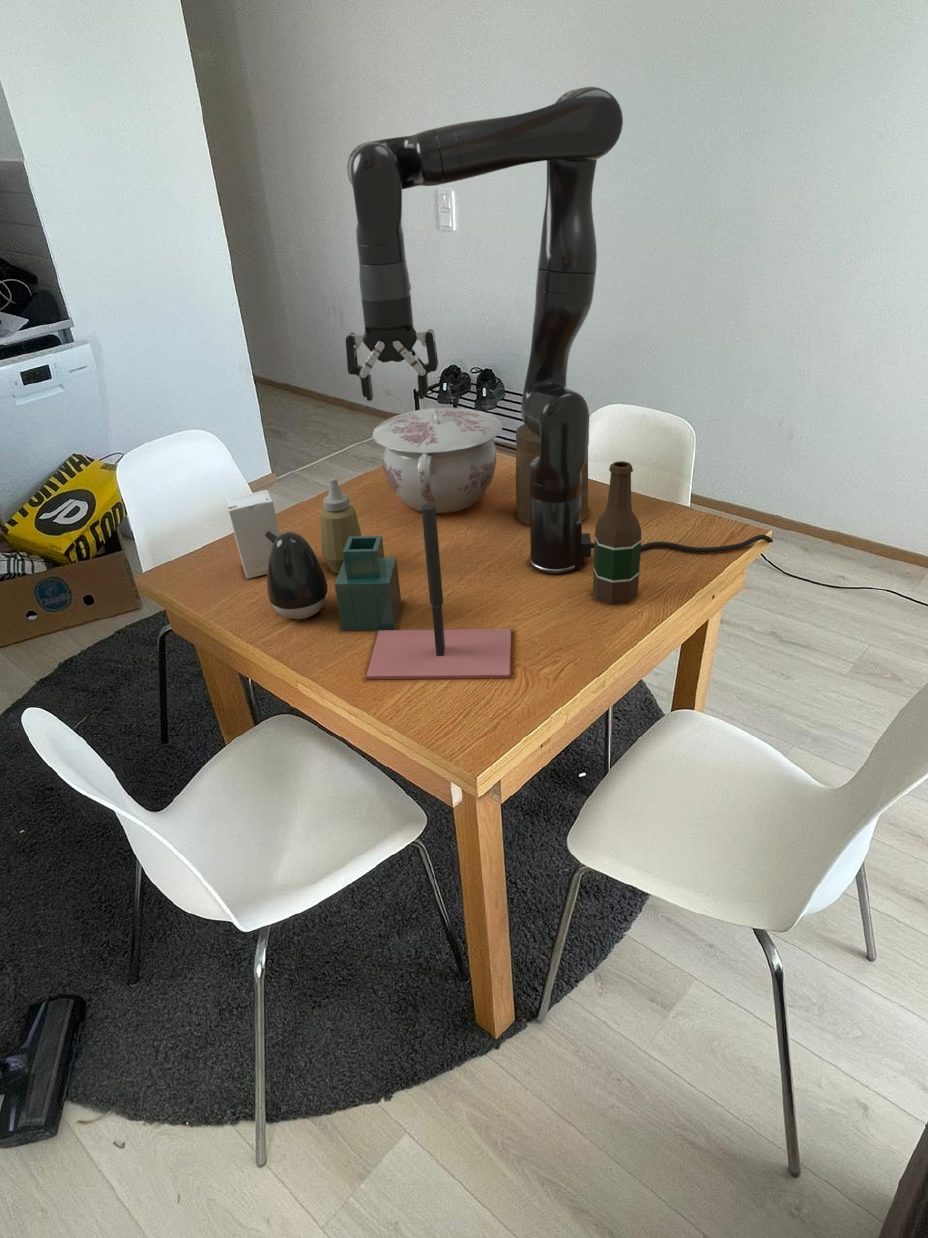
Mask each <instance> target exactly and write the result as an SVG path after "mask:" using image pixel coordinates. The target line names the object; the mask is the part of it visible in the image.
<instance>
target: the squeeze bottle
mask: <svg viewBox="0 0 928 1238" xmlns="http://www.w3.org/2000/svg"><path fill="white" fill-rule="evenodd" d="M328 483H329V484H328V495H326V496H324V497H323V499H322V503H323V508H322V509H321V510H320V512H319V521H320V522H319V523H320V542H321V543H320V544H321V554H322V556H323V558H324V560H325V562H326V563H327V565H328V567H329V569H330V571H331V572H333V573H335V574H339V572H340V569H341V567H342V564H343V562H344V557H343V550H344V548H345V545H346V543H347V540H348V538H349V536H353V537H354V536H363V535H362V531H361V528H360V524H359V519H358V516H357V515H358V514H357V511H356V508H355V507H354V506H353V505H351V504H350V499H349V496H348V495H347V494H346V493H342V490H341V488H340V485H339V483H338V480H337V478H335V477H332V478H329V481H328Z"/></svg>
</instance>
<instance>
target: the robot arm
mask: <svg viewBox="0 0 928 1238" xmlns="http://www.w3.org/2000/svg"><path fill="white" fill-rule="evenodd" d="M623 116H624V115H623V111H622V108H621V104H620V103H619V101H618V100H617V98H616V97H615V96H614V95H613V94H611V93H610V92H609V91H608V90H606V89H603V88H601V87H598V86H597V87H596V86H583V87H579V88H575V89H572V90H569V91H567V92H565V93H563V94H562V95H560V96H559V97H558V98H557V100H556V101H555V102H554V103H551V104H550V105H548V106H545V107H541V108H538V109H534V110H531V111H527V112H522V113H517V114H513V115H508V116H500V117H493V118H486V119H479V120H472V121H471V120H470V121H465V122H459V123H454V124H453V123H452V124H449V125H444V126H439V127H435V128H431V129H427V130H423V131H420V132H417V133H415V134H411V135H405V136H396V137H389V138H383V139H377V140H370V141H366V142H363V143H360V144H358V145H357V146H356V147H355V148H354V149H353V150H352V151H351V152H350V154H349V156H348V158H347V163H346V173H347V178H348V181H349V182H350V185H351V186H352V192H353V198H354V206H355V212H356V221H357V223H356V227H355V228H356V229H355V234H356V235H355V236H356V237H355V238H356V248H357V257H358V258H357V259H358V267H359V268H358V270H359V271H358V272H359V275H358V276H359V277H358V279H359V280H358V281H359V288H360V296H361V299H360V300H361V305H362V307H361V308H362V315H363V324H364V334H356V333H354V332H349V333H348V334H347V336H346V337H345V350H346V351H345V353H346V364H347V373H348V374H349V375H351V376H352V375H355V376H358V378H359V379H360V385H361V386H360V387H361V394H362V396H363V398H366V401H367V402H372V401H373V399H374V392H373V391H374V390H373V383H372V375H371V374H370V371H371V370H372V368H373V367H374V366H375V363H376V362H377V360H378V361H379V362H381V363H389V362H395V363H402V362H403V361H404V360H405V361H406V362H407V363H408V365H409V366H410V367H412V368H413V369H414V370H415V371H416V373H417V377H416V378H417V389H418V398H419V400H425V396H427V395H428V392H429V379H428V374H429V373H432V372H436V371H437V369H438V366H439V359H438V351H437V344H436V336H435V331H434V330H433V329H432V328H431V329H427V330H426V331H419V332H418V331H416V330H415V328H414V320H413V319H414V318H413V317H414V316H413V308H412V307H413V306H412V295H411V290H412V287H411V282H410V274H409V270H408V265H407V258H406V246H405V237H404V230H403V222H402V221H403V220H402V219H403V217H402V216H403V190H406V189H411V188H415V187H419V186H420V187H421V186H422V187H435V186H440V185H444V184H449V183H455V182H459V181H463V180H467V179H471V178H475V177H479V176H482V175H487V174H489V173H493V172H497V171H501V170H504V169H509V168H512V167H517V166H522V165H526V164H532V163H538V162H546V193H545V194H546V195H545V203H544V210H543V211H544V212H543V219H542V227H541V235H540V246H539V253H538V261H537V269H536V271H537V272H536V283H535V298H534V300H535V302H534V303H535V305H534V313H533V322H532V332H531V342H530V343H531V345H530V352H529V359H528V366H527V370H526V376H525V381H524V386H523V390H522V391H523V392H522V397H521V404H520V413H521V419H522V422H523V424H525V426H526V427H527V428H528V429H529V430H530V431H531V432H533V433H534V434H536V435H538V436H539V437H541V447H540V456H538V457H536V458H535V459H533V460H532V461H531V463H530V467H529V477H530V525H529V533H530V534H529V535H530V536H529V537H530V539H529V540H530V541H529V542H530V543H529V544H530V554H529V555H530V557H529V563H530V566H531V568H533V569H534V570H535V571H537V572H540V573H543V574H549V575H563V574H568V573H571V572H573V571H577V570H578V571H580V570H581V569H582V558H591V557H592V549H594V543H595V542H592V538H591V533H590V532H584V533H582V531H583V521H581V489H582V469H583V467H584V464H585V462H586V458H587V449H588V450H589V445H588V436H589V437H590V410H589V406H588V403H587V401H586V399H585V397H584V396H582V394H580V393H579V392H577V391H575V390H573V389H571V388H569V387H567V374H568V366H569V357H570V353H571V348H572V347H573V344H574V341H575V340H576V338H577V336H578V334H579V333H580V330H581V329H582V328H583V325H584V323H585V321H586V320H587V317H588V315H589V313H590V311H591V308H592V305H593V300H594V292H595V284H596V277H597V268H598V250H597V247H598V246H597V237H596V229H595V222H594V221H595V220H594V213H593V189H594V182H595V174H596V167H597V161H598V159H600V158H603V157H604V156H605V155H608V153H609V152H610V151H612V149H613V148H614V147H615V146H616V144H617V143H618V141H619V139H620V137H621V134H622V130H623V125H624V117H623ZM417 341H419V342H420V343H421V346H423V347H425V348H426V355H427V363H425V362H424V361H423V359H421V357H420V355H419V354H418V353H417V352H416V350H415V349H414V347H415V344H416V343H417ZM362 343H363V344H364V346H365V347H366V348H367V349H368V351H369V352H371V353H370V354H369V356H368V358H367V359H366V361H365V363H364V365H363V366H362V365H359V363H358V350H359V349H360V348H361V344H362ZM758 541H766V542H767V543H774V540H773V538H771V537H770V536H769V535H766V534H757V535H755V536H753V537H751V538H748V539H746V540H745V541H742V542H739V543H734V544H728V545H720V546H709V547H705V546H703V547H700V546H699V547H698V546H689V545H684V544H680V543H675V542H669V541H651V542H648V543H647V542H646V543H644V544H641V552H642V551H644V550H647V549H650V548H658V547H659V548H671V549H675V550H680V551H684V552H691V553H719V552H725V551H733V550H739V549H741V548H742V549H743V548H745V547H747V546H749V545H751V544H753V543H756V542H758Z"/></svg>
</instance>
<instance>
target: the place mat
mask: <svg viewBox="0 0 928 1238" xmlns="http://www.w3.org/2000/svg"><path fill="white" fill-rule="evenodd" d="M444 639H445V651H444V656H436V646H435V635H434V629H395V630H378V632H377V635H376V639H375V642H374V647H373V650H372V654H371V658H370V662H369V665H368V668H367V672H366V676H365V677H366V680H415V679H416V680H422V679H423V680H424V679H425V680H427V679H430V680H434V679H511V654H512V653H511V651H512V649H511V648H512V628H467V629H466V628H463V629H462V628H458V629H457V628H454V629H444Z"/></svg>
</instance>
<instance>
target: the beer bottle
mask: <svg viewBox="0 0 928 1238" xmlns="http://www.w3.org/2000/svg"><path fill="white" fill-rule="evenodd" d="M608 470H609V472H610V478H609V486H608V487H609V488H608V497H607V503H606V507H605V510H604V511H603V512H602V514H601V515H600V516H599V517H598V521H597V522H596V525H595V529H594V542H593V543H594V548H593V549H594V550H593V574H592V575H593V576H592V577H593V579H592V583H593V592H594V594H595V596H596V599H597V600H598V601H599V602H603V603H606V604H609V605H614V606H615V605H622V604H624V605H625V604H629V603H630V602H631V601H632V600H634V599H635V598H636V597H637V596H638V592H639V585H640V584H639V583H640V568H641V567H640V566H641V552H642V551H641V545H642V528H641V524H640V522H639V520H638V518H637V516H636V515H635V513H634V511H633V506H632V473H633V472H634V469H633V465H632V463H630V462H627V461H624V460H621V461H619V460H618V461H614V462H613V463H611V464H610V465H609V468H608Z"/></svg>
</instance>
